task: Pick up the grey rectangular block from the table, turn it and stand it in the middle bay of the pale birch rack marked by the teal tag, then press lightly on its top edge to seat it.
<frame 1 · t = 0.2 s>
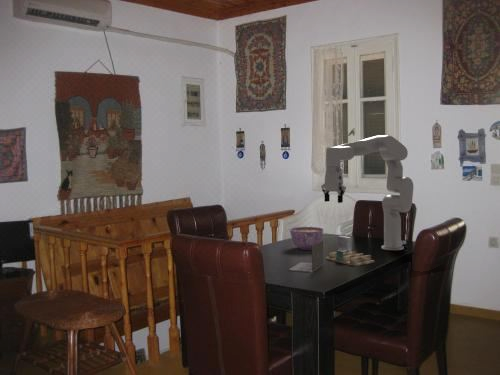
hand: (333, 202, 272), 31 cm above the table, fingers open, 9 cm apart
laptop: (306, 268, 254), on the table
bowl of food: (306, 248, 303), on the table
bay rack: (349, 260, 268), on the table
grey rectangular block: (344, 252, 290), on the table
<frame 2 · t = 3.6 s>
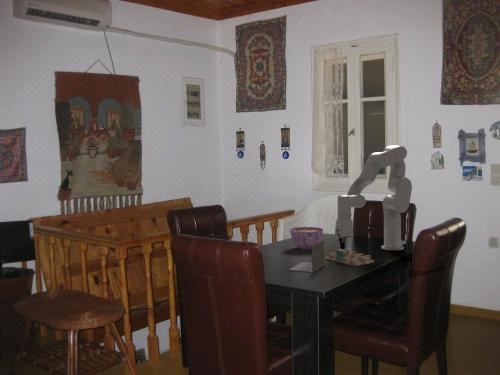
hand: (344, 248, 290), 2 cm above the table, fingers closed on grey rectangular block, 3 cm apart
grey rectangular block: (344, 252, 290), on the table, touching gripper
everything else where it was.
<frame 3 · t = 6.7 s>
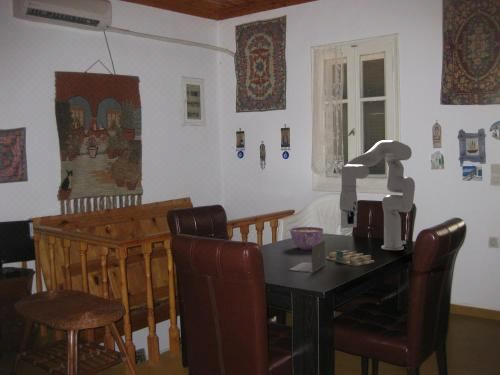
hand: (348, 223, 269), 20 cm above the table, fingers closed on grey rectangular block, 3 cm apart
grey rectangular block: (348, 227, 269), point 17 cm above the table, touching gripper
everything else where it was.
when the fingers open (5 cm above the table, at t = 10.0 s): grey rectangular block drops 1 cm, resting on bay rack.
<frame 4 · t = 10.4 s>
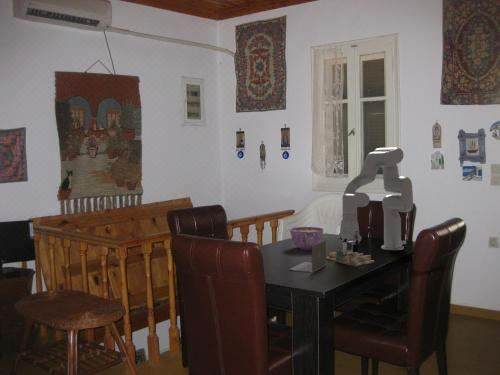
hand: (350, 250, 268), 5 cm above the table, fingers open, 7 cm apart
grey rectangular block: (350, 258, 268), point 1 cm above the table, touching bay rack
everything else where it was.
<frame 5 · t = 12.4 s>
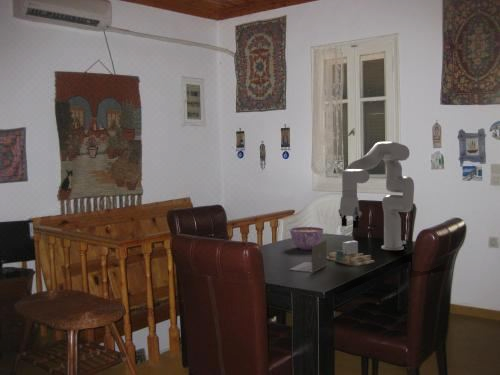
hand: (349, 226, 267), 18 cm above the table, fingers open, 8 cm apart
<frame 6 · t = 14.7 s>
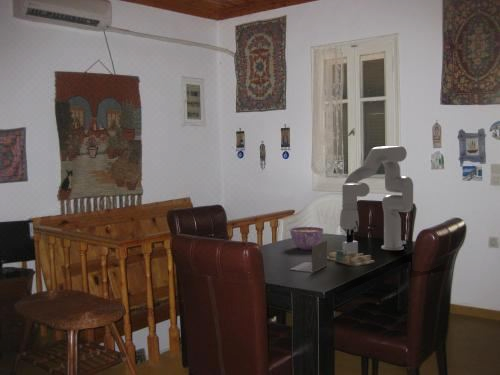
hand: (349, 241, 267), 10 cm above the table, fingers closed
grey rectangular block: (350, 258, 268), point 1 cm above the table, touching bay rack, gripper
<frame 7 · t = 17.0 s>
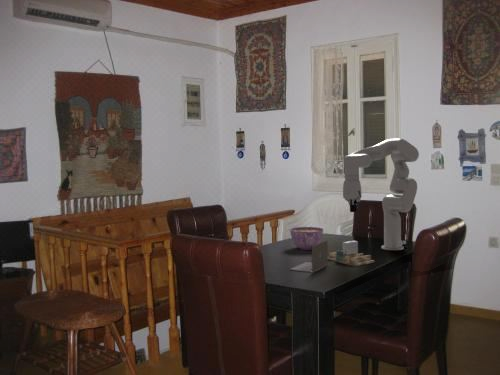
hand: (353, 211, 276), 25 cm above the table, fingers closed
grey rectangular block: (350, 258, 268), point 1 cm above the table, touching bay rack
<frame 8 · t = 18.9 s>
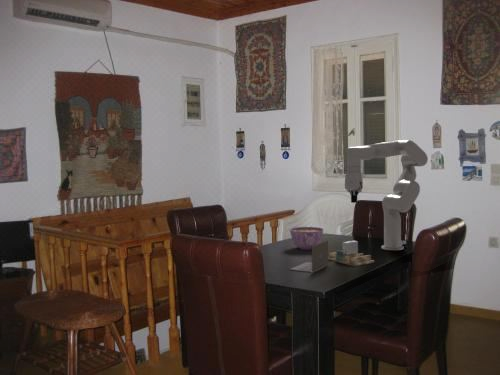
hand: (354, 202, 282), 29 cm above the table, fingers closed
at the end: grey rectangular block 0.1 cm off-centre on the bay rack, point 1.0 cm above the bay rack's base; grey rectangular block tilted 0°; the gripper is holding nothing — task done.
